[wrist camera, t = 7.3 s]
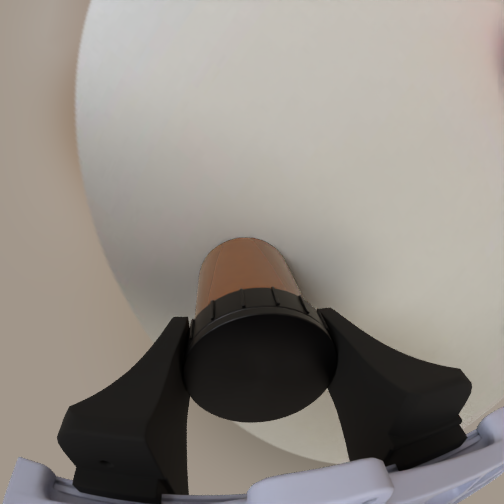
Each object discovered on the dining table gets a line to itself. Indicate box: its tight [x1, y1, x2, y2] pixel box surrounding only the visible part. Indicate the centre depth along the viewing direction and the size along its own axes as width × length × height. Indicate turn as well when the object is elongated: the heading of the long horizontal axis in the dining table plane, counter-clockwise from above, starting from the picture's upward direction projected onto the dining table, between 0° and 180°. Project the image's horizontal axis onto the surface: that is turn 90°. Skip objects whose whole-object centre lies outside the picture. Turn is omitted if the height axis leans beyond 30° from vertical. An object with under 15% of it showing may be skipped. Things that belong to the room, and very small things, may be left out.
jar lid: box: [182, 287, 337, 422], centre depth 11 cm, size 6×6×2 cm
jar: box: [195, 238, 304, 318], centre depth 14 cm, size 5×5×7 cm
